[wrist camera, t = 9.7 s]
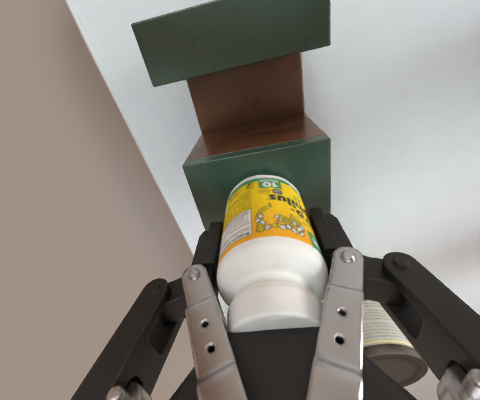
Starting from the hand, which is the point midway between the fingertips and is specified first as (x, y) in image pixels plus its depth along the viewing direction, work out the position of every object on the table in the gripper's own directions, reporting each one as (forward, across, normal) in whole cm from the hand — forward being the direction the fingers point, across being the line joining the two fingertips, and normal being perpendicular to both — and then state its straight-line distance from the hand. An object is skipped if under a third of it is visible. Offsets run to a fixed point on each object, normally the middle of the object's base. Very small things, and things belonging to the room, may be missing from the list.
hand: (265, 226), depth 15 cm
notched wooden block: (+16, 0, -4) cm, 16 cm away
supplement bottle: (+3, 0, 0) cm, 3 cm away
